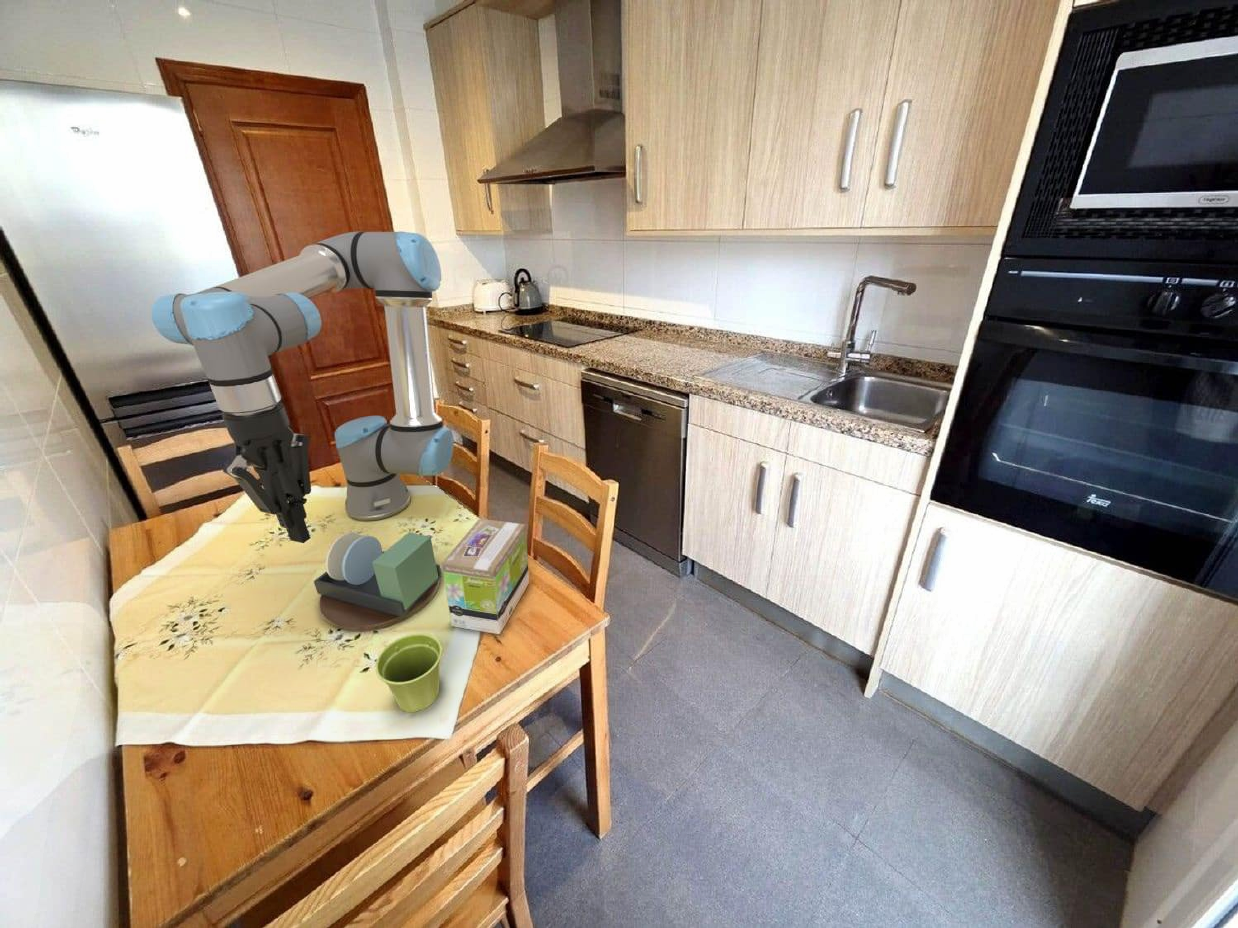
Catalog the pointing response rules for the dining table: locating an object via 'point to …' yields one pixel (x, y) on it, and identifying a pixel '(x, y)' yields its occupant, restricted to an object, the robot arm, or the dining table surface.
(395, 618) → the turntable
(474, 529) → the tea box
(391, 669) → the plant pot
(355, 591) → the dish rack
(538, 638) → the dining table surface
